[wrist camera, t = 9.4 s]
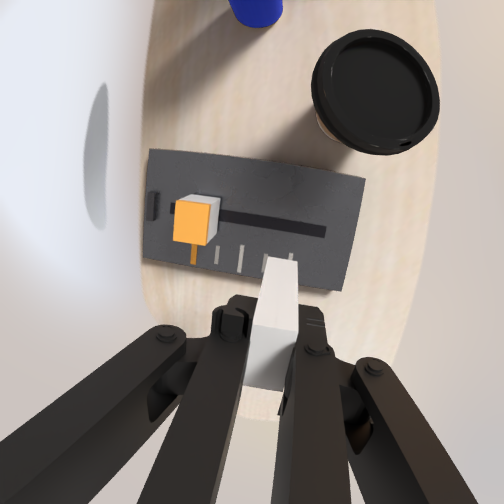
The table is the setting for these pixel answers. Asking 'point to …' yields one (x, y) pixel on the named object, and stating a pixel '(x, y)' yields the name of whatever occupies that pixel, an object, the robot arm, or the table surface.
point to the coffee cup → (374, 93)
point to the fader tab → (196, 219)
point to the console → (255, 215)
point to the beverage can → (257, 12)
